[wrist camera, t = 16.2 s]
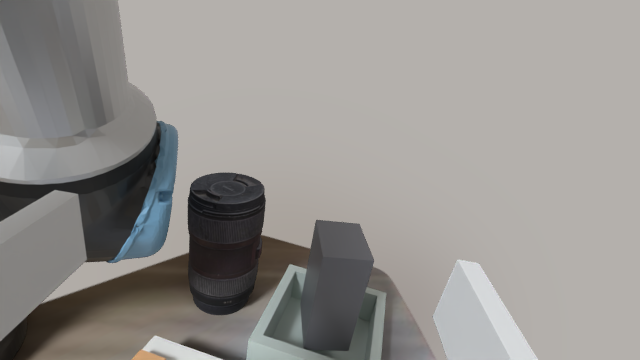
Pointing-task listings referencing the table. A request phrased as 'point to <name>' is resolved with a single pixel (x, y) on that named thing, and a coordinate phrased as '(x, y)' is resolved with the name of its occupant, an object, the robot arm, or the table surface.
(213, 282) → the camera lens
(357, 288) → the tall grey pillar
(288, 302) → the bin
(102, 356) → the table surface
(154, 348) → the strip
